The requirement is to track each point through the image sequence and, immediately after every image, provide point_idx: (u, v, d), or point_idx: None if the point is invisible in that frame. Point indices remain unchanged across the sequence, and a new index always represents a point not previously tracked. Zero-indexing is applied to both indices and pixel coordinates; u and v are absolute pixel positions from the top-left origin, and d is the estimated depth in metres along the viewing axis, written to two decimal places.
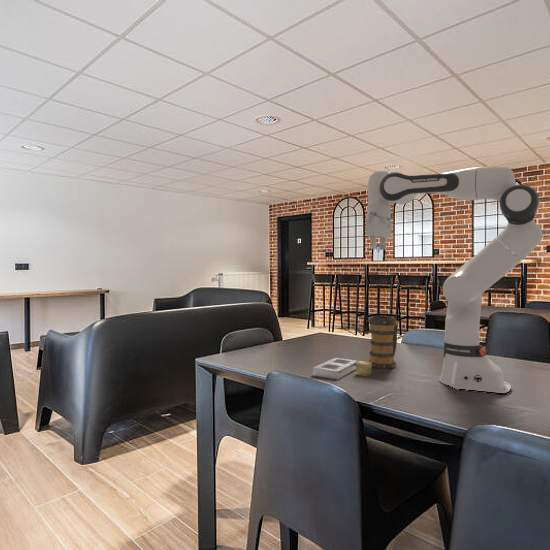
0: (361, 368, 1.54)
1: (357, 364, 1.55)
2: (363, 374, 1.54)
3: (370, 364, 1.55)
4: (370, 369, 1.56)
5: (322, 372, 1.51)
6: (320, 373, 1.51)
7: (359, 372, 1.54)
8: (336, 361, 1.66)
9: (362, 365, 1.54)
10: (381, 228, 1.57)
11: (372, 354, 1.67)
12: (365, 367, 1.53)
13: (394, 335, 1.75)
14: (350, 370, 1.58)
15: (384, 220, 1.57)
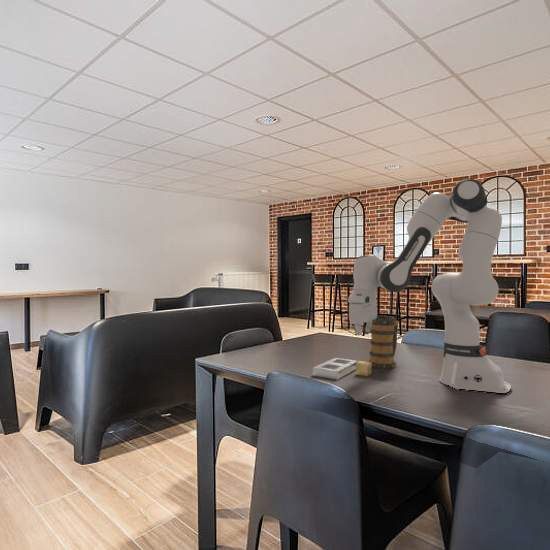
0: (361, 368, 1.54)
1: (357, 364, 1.55)
2: (363, 374, 1.54)
3: (370, 364, 1.56)
4: (370, 369, 1.56)
5: (322, 372, 1.51)
6: (320, 373, 1.51)
7: (359, 372, 1.54)
8: (336, 361, 1.66)
9: (362, 365, 1.54)
10: None
11: (372, 354, 1.67)
12: (365, 367, 1.53)
13: (394, 335, 1.75)
14: (350, 370, 1.58)
15: None
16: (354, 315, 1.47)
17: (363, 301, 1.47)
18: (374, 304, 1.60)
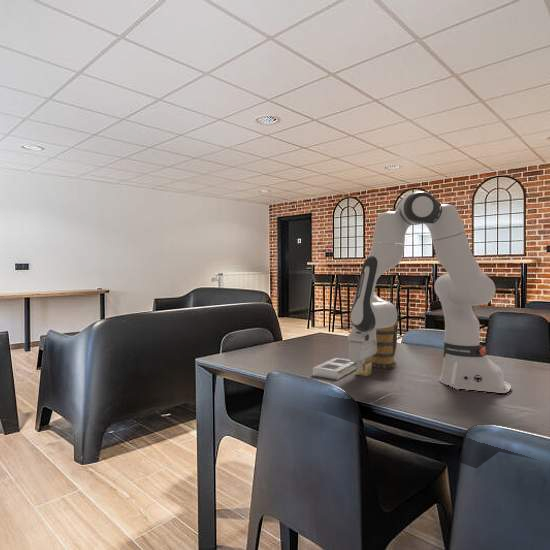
0: None
1: None
2: (363, 374, 1.54)
3: (370, 364, 1.55)
4: (370, 369, 1.56)
5: (322, 372, 1.51)
6: (320, 373, 1.51)
7: None
8: (336, 361, 1.66)
9: None
10: None
11: None
12: (365, 366, 1.53)
13: (394, 335, 1.75)
14: (350, 370, 1.58)
15: None
16: (354, 354, 1.47)
17: (363, 340, 1.47)
18: (374, 339, 1.60)
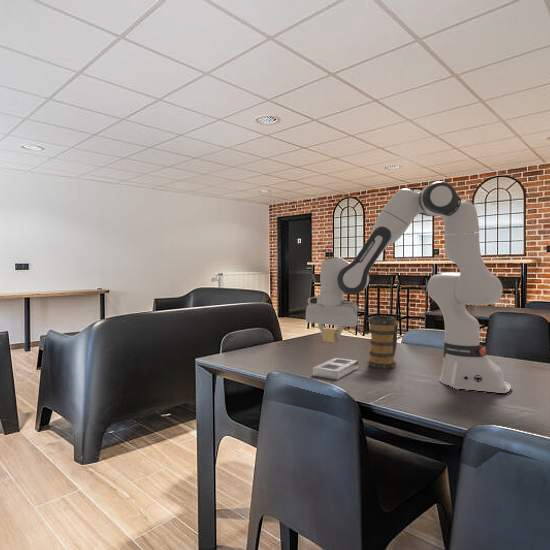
0: None
1: None
2: None
3: (330, 331, 1.52)
4: (331, 336, 1.52)
5: (322, 372, 1.51)
6: (320, 373, 1.51)
7: None
8: (336, 361, 1.66)
9: None
10: None
11: (372, 354, 1.67)
12: None
13: (394, 335, 1.75)
14: (350, 370, 1.58)
15: None
16: None
17: (308, 301, 1.56)
18: (344, 309, 1.49)
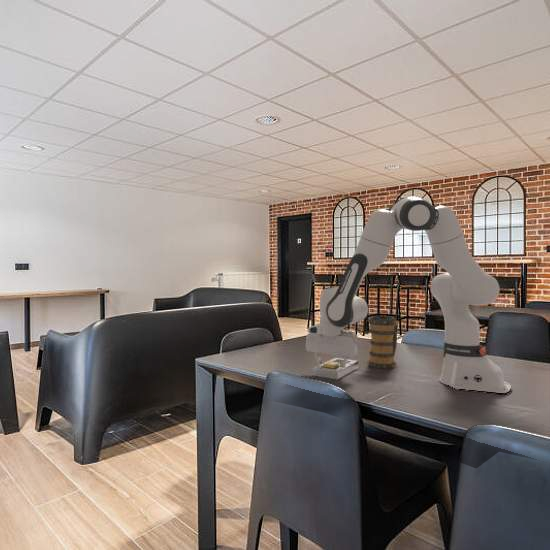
0: None
1: None
2: None
3: (331, 366, 1.52)
4: None
5: (322, 372, 1.51)
6: (320, 373, 1.51)
7: None
8: (336, 361, 1.66)
9: None
10: None
11: (372, 354, 1.67)
12: None
13: (394, 335, 1.75)
14: (350, 370, 1.58)
15: None
16: None
17: (308, 330, 1.56)
18: (344, 339, 1.49)
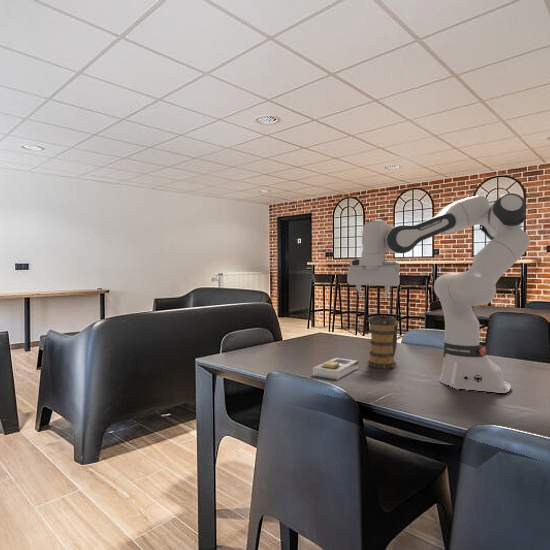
0: None
1: None
2: None
3: (331, 366, 1.52)
4: None
5: (322, 372, 1.51)
6: (320, 373, 1.51)
7: None
8: (336, 361, 1.66)
9: None
10: None
11: (372, 354, 1.67)
12: None
13: (394, 335, 1.75)
14: (350, 370, 1.58)
15: None
16: None
17: None
18: (387, 269, 1.55)
